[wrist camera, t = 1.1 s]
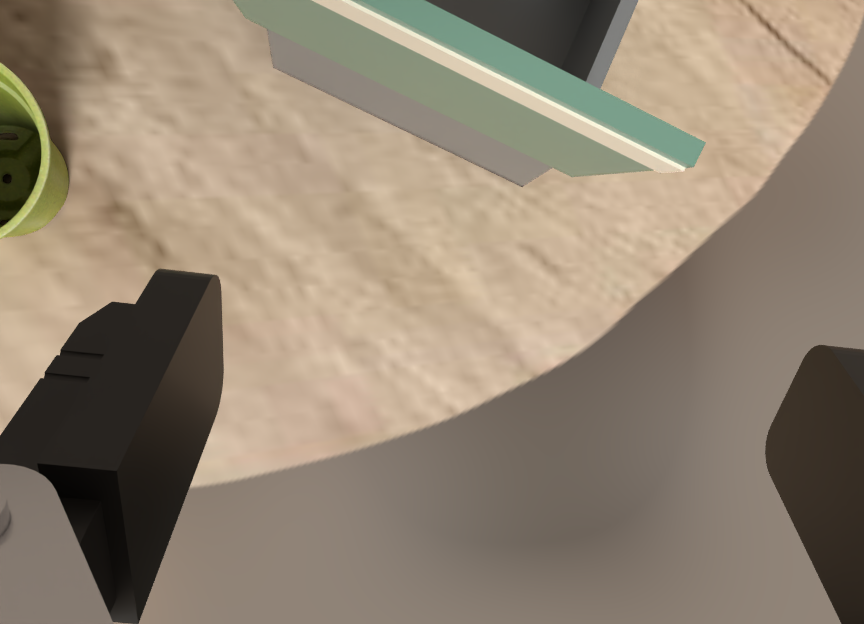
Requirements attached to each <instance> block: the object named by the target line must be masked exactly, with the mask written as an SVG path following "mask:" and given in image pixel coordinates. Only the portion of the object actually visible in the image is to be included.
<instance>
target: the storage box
mask: <svg viewBox="0 0 864 624" xmlns="http://www.w3.org/2000/svg"><path fill="white" fill-rule="evenodd" d="M425 1H427V2H429V3H431V4H433V5H435V6H437V7H439V8H441V9H443V10H445V11H447V12H449V13H451V14H453V15H455V16H457V17H459V18H461V19H463V20H465V21H467V22H469V23H471V24H473V25H475V26H477V27H479V28H480V29H482V30H484V31H486V32H488V33H490V34H492V35H494V36H496V37H498V38H500V39H502V40H504V41H506V42H508V43H510V44H512V45H514V46H516V47H518V48H520V49H522V50H524V51H526V52H528V53H530V54H532V55H534V56H536V57H538V58H540V59H542V60H544V61H546V62H548V63H550V64H552V65H554V66H555V67H557V68H559V69H561V70H563V71H565V72H567V73H569V74H571V75H573V76H575V77H577V78H579V79H581V80H583V81H585V82H587V83H589V84H591V85H593V86H595V87H597V88H599V89H600V88H601V86H602V84H603V81H604V79H605V77H606V74H607V72H608V70H609V67H610V65H611V63H612V60H613V58H614V56H615V53H616V51H617V49H618V46H619V44H620V42H621V39H622V37H623V35H624V32H625V30H626V28H627V25H628V23H629V21H630V18H631V16H632V14H633V12H634V9H635V7H636V5H637V2H638V0H425ZM267 31H268V37H269V44H270V50H271V56H272V62H273V68H275V69H277V70H280V71H282V72H284V73H286V74H288V75H290V76H292V77H294V78H296V79H298V80H300V81H302V82H305V83H307V84H309V85H311V86H313V87H315V88H317V89H319V90H321V91H323V92H325V93H327V94H330V95H332V96H334V97H336V98H338V99H340V100H342V101H344V102H346V103H348V104H350V105H353V106H355V107H357V108H359V109H361V110H363V111H365V112H367V113H369V114H371V115H373V116H375V117H378V118H380V119H382V120H384V121H386V122H388V123H390V124H392V125H394V126H396V127H398V128H400V129H403V130H405V131H407V132H409V133H411V134H413V135H415V136H417V137H419V138H421V139H423V140H425V141H428V142H430V143H432V144H434V145H436V146H438V147H440V148H442V149H444V150H446V151H448V152H450V153H453V154H455V155H457V156H459V157H461V158H463V159H465V160H467V161H469V162H471V163H473V164H476V165H478V166H480V167H482V168H484V169H486V170H488V171H490V172H492V173H494V174H496V175H498V176H501V177H503V178H505V179H507V180H509V181H511V182H513V183H515V184H517V185H519V186H521V187H523V186H524V185H526V184H528V183H529V182H531V181H532V180H534V179H535V178H537V177H539V176H540V175H542V174H543V173H545V172H547V171H548V170H550V169H551V168H552V167H550V166H548V165H546V164H544V163H542V162H540V161H538V160H536V159H534V158H532V157H530V156H528V155H526V154H524V153H522V152H520V151H517V150H515V149H513V148H511V147H509V146H507V145H505V144H503V143H501V142H499V141H497V140H495V139H493V138H491V137H489V136H487V135H485V134H483V133H480V132H478V131H476V130H474V129H472V128H470V127H468V126H466V125H464V124H462V123H460V122H458V121H456V120H454V119H452V118H450V117H448V116H446V115H443V114H441V113H439V112H437V111H435V110H433V109H431V108H429V107H427V106H425V105H423V104H421V103H419V102H417V101H415V100H413V99H411V98H409V97H406V96H404V95H402V94H400V93H398V92H396V91H394V90H392V89H390V88H388V87H386V86H384V85H382V84H380V83H378V82H376V81H374V80H372V79H369V78H367V77H365V76H363V75H361V74H359V73H357V72H355V71H353V70H351V69H349V68H347V67H345V66H343V65H341V64H339V63H337V62H335V61H332V60H330V59H328V58H326V57H324V56H322V55H320V54H318V53H316V52H314V51H312V50H310V49H308V48H306V47H304V46H302V45H300V44H298V43H295V42H293V41H291V40H289V39H287V38H285V37H283V36H281V35H279V34H277V33H275V32H273V31H271V30H269V29H267Z"/></svg>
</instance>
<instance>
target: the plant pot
mask: <svg viewBox="0 0 864 624" xmlns="http://www.w3.org/2000/svg"><path fill="white" fill-rule="evenodd" d="M1 133H14V134H16V135H18V139H17V140H7V139H6V140H5V139H4V140H0V221H1V220H10V221H9V222H7V223H6V224H5V225H4V226H2V225H1V224H0V239H1V238H3V237H14V236H21V235H25V234H29V233H32V232H34V231H37V230H39V229H41V228H42V227H44V226H45V225H46V224H47V223H48V222H50V221H51V220H52V219H53V217H54V216H55V215H56V214H57V213H58V211H59V210H60V209H61V207H62V206H63V204H64V202H65V200H66V197H67V193H68V186H69V177H68V171H67V167H66V164H65V161H64V159H63V156H62V155H61V153H60V151H59V150H58V148H57V147H56V146H55V145H54V143H53V142H52V141H51V140H50V135H49V130H48V126H47V123H46V120H45V117H44V115H43V112H42V110H41V108H40V106H39V104H38V103H37V101H36V99H35V98H34V96H33V95H32V93H31V92H30V90H29V89H28V88H27V87H26V85H25V84H24V83H23V82H22V81H21V80H20V79H19V78H18V77H17V76H16V75H15V74H14V73H13V72H12V71H11V70H10V69H8V68H7V67H6V66H5V65H3V64H2V63H1V62H0V134H1ZM5 174H9V175H11V177H12V181H11V183H8V184H6V183H4V182H3V176H4V175H5Z"/></svg>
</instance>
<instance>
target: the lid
mask: <svg viewBox="0 0 864 624" xmlns="http://www.w3.org/2000/svg"><path fill="white" fill-rule="evenodd" d="M233 1H234V3H235V4H236V5H237V7H238V8H239V10H240V11H241V12H242V14H243V15H244V17H245V18H246V19H248V20H250V21H252V22H254V23H256V24H258V25H260V26H263V27H265V28H267V29H269V30H271V31H273V32H275V33H277V34H279V35H281V36H283V37H285V38H287V39H289V40H291V41H293V42H295V43H298V44H300V45H302V46H304V47H306V48H308V49H310V50H312V51H314V52H316V53H318V54H320V55H322V56H324V57H326V58H328V59H330V60H332V61H335V62H337V63H339V64H341V65H343V66H345V67H347V68H349V69H351V70H353V71H355V72H357V73H359V74H361V75H363V76H365V77H367V78H369V79H372V80H374V81H376V82H378V83H380V84H382V85H384V86H386V87H388V88H390V89H392V90H394V91H396V92H398V93H400V94H402V95H404V96H406V97H409V98H411V99H413V100H415V101H417V102H419V103H421V104H423V105H425V106H427V107H429V108H431V109H433V110H435V111H437V112H439V113H441V114H443V115H446V116H448V117H450V118H452V119H454V120H456V121H458V122H460V123H462V124H464V125H466V126H468V127H470V128H472V129H474V130H476V131H478V132H480V133H483V134H485V135H487V136H489V137H491V138H493V139H495V140H497V141H499V142H501V143H503V144H505V145H507V146H509V147H511V148H513V149H515V150H517V151H520V152H522V153H524V154H526V155H528V156H530V157H532V158H534V159H536V160H538V161H540V162H542V163H544V164H546V165H548V166H550V167H552V168H554V169H557V170H559V171H561V172H563V173H565V174H567V175H569V176H571V177H579V176H591V175H604V174H616V173H628V172H641V171H653V170H655V171H657V172H659V173H669V172H683V171H684V170H685V168H690V167H694V166H695V164H696V161H697V159H698V157H699V155H700V153H701V151H702V149H703V147H704V145H705V143H706V142H704V141H702V140H700V139H698V138H696V137H694V136H692V135H690V134H688V133H686V132H684V131H682V130H680V129H678V128H676V127H674V126H672V125H670V124H668V123H666V122H664V121H662V120H660V119H658V118H656V117H654V116H652V115H650V114H648V113H646V112H644V111H642V110H640V109H638V108H636V107H634V106H632V105H631V104H629V103H627V102H625V101H623V100H621V99H619V98H617V97H615V96H613V95H611V94H609V93H607V92H605V91H603V90H601V89H599V88H597V87H595V86H593V85H591V84H589V83H587V82H585V81H583V80H581V79H579V78H577V77H575V76H573V75H571V74H569V73H567V72H565V71H563V70H561V69H559V68H557V67H555V66H554V65H552V64H550V63H548V62H546V61H544V60H542V59H540V58H538V57H536V56H534V55H532V54H530V53H528V52H526V51H524V50H522V49H520V48H518V47H516V46H514V45H512V44H510V43H508V42H506V41H504V40H502V39H500V38H498V37H496V36H494V35H492V34H490V33H488V32H486V31H484V30H482V29H480V28H479V27H477V26H475V25H473V24H471V23H469V22H467V21H465V20H463V19H461V18H459V17H457V16H455V15H453V14H451V13H449V12H447V11H445V10H443V9H441V8H439V7H437V6H435V5H433V4H431V3H429V2H427V1H425V0H233Z"/></svg>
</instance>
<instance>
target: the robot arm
mask: <svg viewBox="0 0 864 624" xmlns="http://www.w3.org/2000/svg"><path fill="white" fill-rule="evenodd" d="M223 373H224V364H223V331H222V299H221V284H220V280H219V277H218V276H217V275H212V274H203V273H194V272H185V271H176V270H167V269H158V270H157V271H156V272H155V273H154V275H153V276H152V278H151V280H150V281H149V283H148V284H147V286H146V288H145V289H144V291H143V292H142V294H141V296H140V297H139V299H138V301H137V302H136V304H128V303H119V302H111V303H109V304H108V305H106V306H105V307H103V308H102V309H100V310H99V311H97V312H96V313H94V314H92V315H91V316H89V317H88V318H86V319H85V320H83V321H82V322H80V323H79V324H78V326H77V327H76V329H75V330H74V331H73V333H72V334H71V336H70V337H69V338H68V340H67V341H66V343H65V344H64V346H63V347H62V348H61V352H60V356H59V355H57V356H56V357H55V358H54V360H53V361H52V363H51V364H50V366H49V367H48V368H47V370H46V371H45V376H44V379H43V378H40V380H39V381H38V383H37V384H36V385H35V387H34V388H33V390H32V391H31V393H30V394H29V395H28V397H27V398H26V400H25V401H24V403H23V404H22V405H21V407H20V408H19V410H18V411H17V412H16V414H15V415H14V417H13V418H12V420H11V421H10V422H9V424H8V425H7V427H6V428H5V430H4V431H3V432H2V434H1V435H0V624H113V622H120V623H132V624H138V623H139V621H140V618H141V615H142V613H143V610H144V607H145V605H146V602H147V599H148V597H149V594H150V591H151V589H152V586H153V583H154V581H155V578H156V575H157V573H158V570H159V567H160V564H161V562H162V559H163V556H164V554H165V551H166V548H167V546H168V543H169V540H170V538H171V535H172V532H173V530H174V527H175V524H176V522H177V519H178V516H179V514H180V511H181V508H182V506H183V503H184V500H185V497H186V495H187V492H188V490H189V487H190V484H191V482H192V479H193V476H194V474H195V471H196V468H197V466H198V463H199V460H200V458H201V455H202V452H203V450H204V447H205V444H206V442H207V439H208V436H209V434H210V431H211V428H212V426H213V423H214V420H215V417H216V415H217V411H218V408H219V404H220V399H221V393H222V386H223ZM765 454H766V463H767V468H768V471H769V474H770V476H771V478H772V480H773V482H774V484H775V487H776V489H777V491H778V493H779V495H780V497H781V499H782V501H783V503H784V505H785V507H786V509H787V511H788V514H789V516H790V517H791V520H792V522H793V524H794V526H795V528H796V530H797V532H798V534H799V536H800V538H801V541H802V543H803V544H804V547H805V549H806V551H807V553H808V555H809V557H810V559H811V561H812V563H813V565H814V568H815V570H816V572H817V574H818V576H819V578H820V580H821V582H822V584H823V586H824V588H825V590H826V592H827V594H828V597H829V599H830V601H831V603H832V605H833V607H834V609H835V611H836V613H837V615H838V617H839V619H840V622H841V624H864V350H861V349H853V348H843V347H834V346H826V345H818V346H815V347H813V348H812V349H811V350H810V351H809V352H808V353H807V354H806V356H805V357H804V359H803V361H802V363H801V365H800V367H799V369H798V371H797V373H796V375H795V377H794V379H793V381H792V384H791V386H790V388H789V390H788V392H787V394H786V396H785V398H784V400H783V402H782V404H781V406H780V408H779V410H778V412H777V414H776V416H775V419H774V420H773V422H772V424H771V427H770V429H769V432H768V435H767V440H766V451H765Z"/></svg>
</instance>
